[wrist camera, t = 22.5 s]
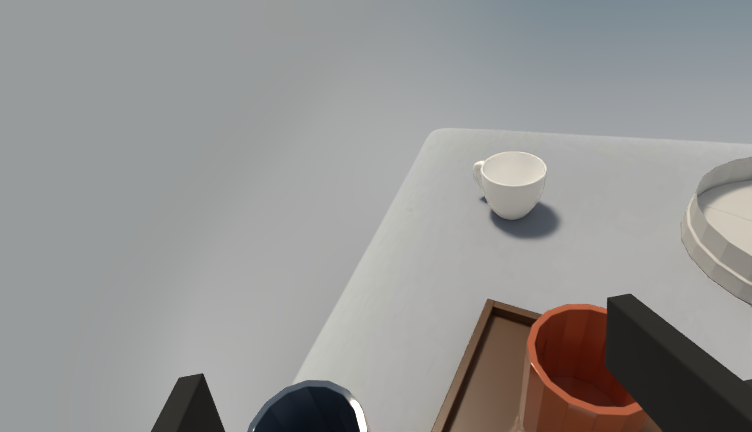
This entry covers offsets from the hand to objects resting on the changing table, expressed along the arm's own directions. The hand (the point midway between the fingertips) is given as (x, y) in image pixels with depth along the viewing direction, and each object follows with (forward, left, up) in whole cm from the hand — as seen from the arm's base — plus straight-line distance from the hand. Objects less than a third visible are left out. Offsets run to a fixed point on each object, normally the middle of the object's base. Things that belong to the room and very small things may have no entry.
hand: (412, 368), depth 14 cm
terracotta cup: (+6, +13, -24) cm, 28 cm away
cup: (-7, +39, -25) cm, 47 cm away
